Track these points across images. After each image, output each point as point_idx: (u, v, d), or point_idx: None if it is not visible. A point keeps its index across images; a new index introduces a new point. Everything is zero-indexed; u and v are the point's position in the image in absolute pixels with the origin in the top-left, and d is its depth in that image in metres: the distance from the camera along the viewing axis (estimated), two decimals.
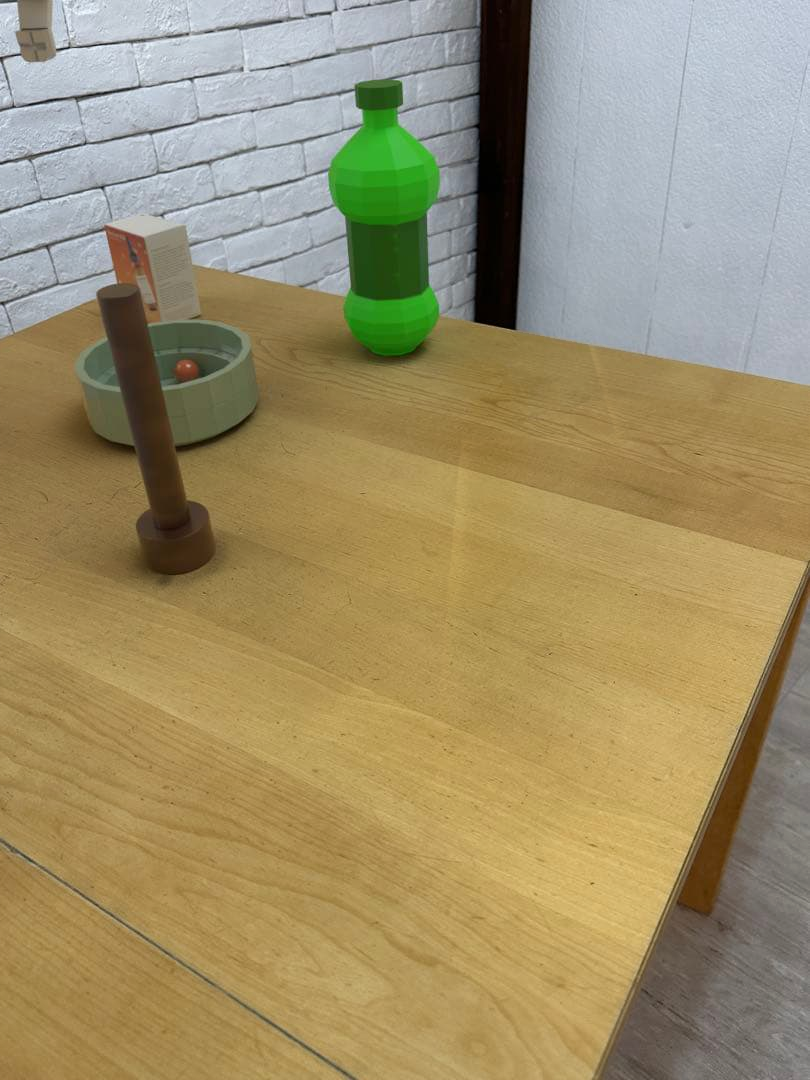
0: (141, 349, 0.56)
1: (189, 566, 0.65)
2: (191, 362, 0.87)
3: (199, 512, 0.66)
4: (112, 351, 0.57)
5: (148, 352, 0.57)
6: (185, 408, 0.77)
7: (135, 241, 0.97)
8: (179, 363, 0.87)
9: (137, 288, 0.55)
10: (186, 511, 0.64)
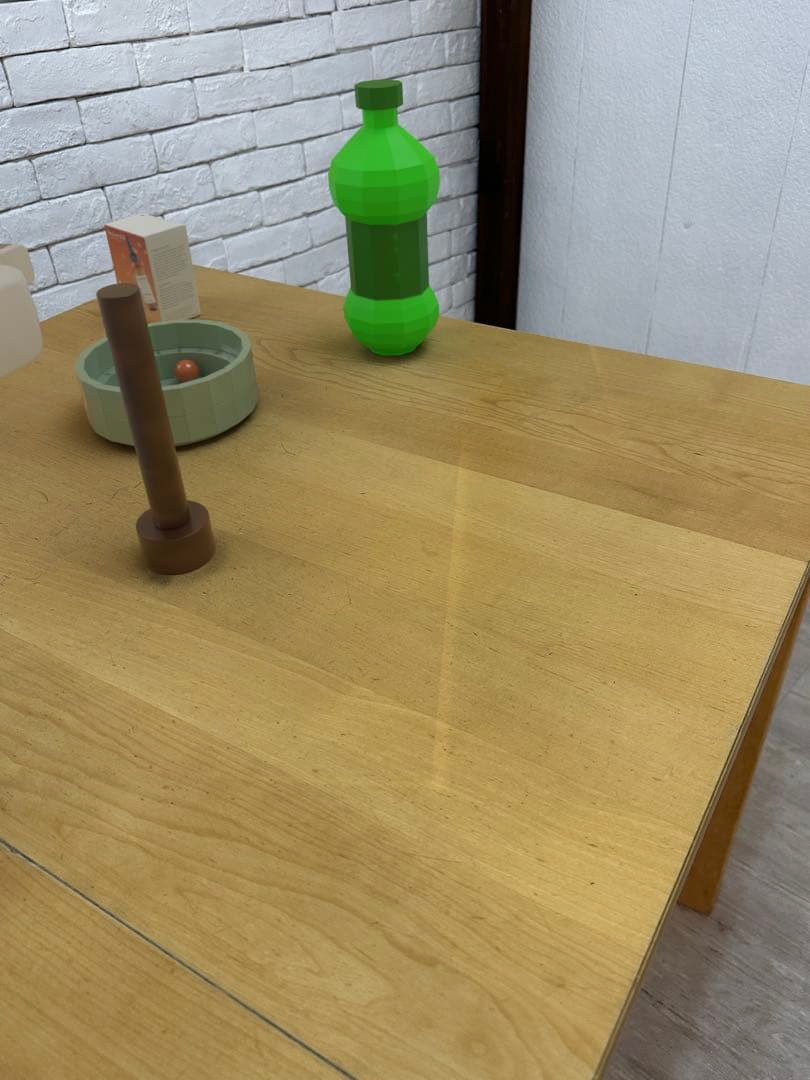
0: (141, 349, 0.56)
1: (189, 566, 0.65)
2: (191, 362, 0.87)
3: (199, 512, 0.66)
4: (112, 351, 0.57)
5: (148, 352, 0.57)
6: (185, 408, 0.77)
7: (135, 241, 0.97)
8: (179, 363, 0.87)
9: (137, 288, 0.55)
10: (186, 511, 0.64)
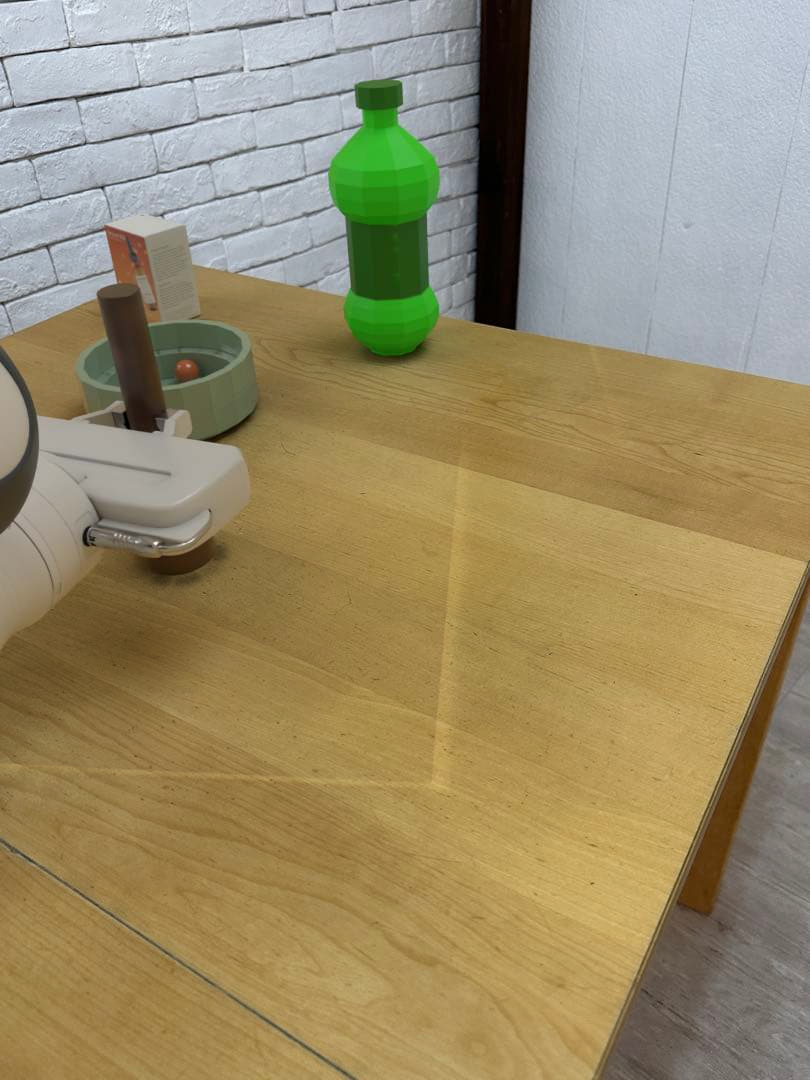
0: (141, 349, 0.56)
1: (189, 566, 0.65)
2: (191, 362, 0.87)
3: None
4: (112, 351, 0.57)
5: (148, 352, 0.57)
6: (185, 408, 0.77)
7: (135, 241, 0.97)
8: (179, 363, 0.87)
9: (137, 288, 0.55)
10: None
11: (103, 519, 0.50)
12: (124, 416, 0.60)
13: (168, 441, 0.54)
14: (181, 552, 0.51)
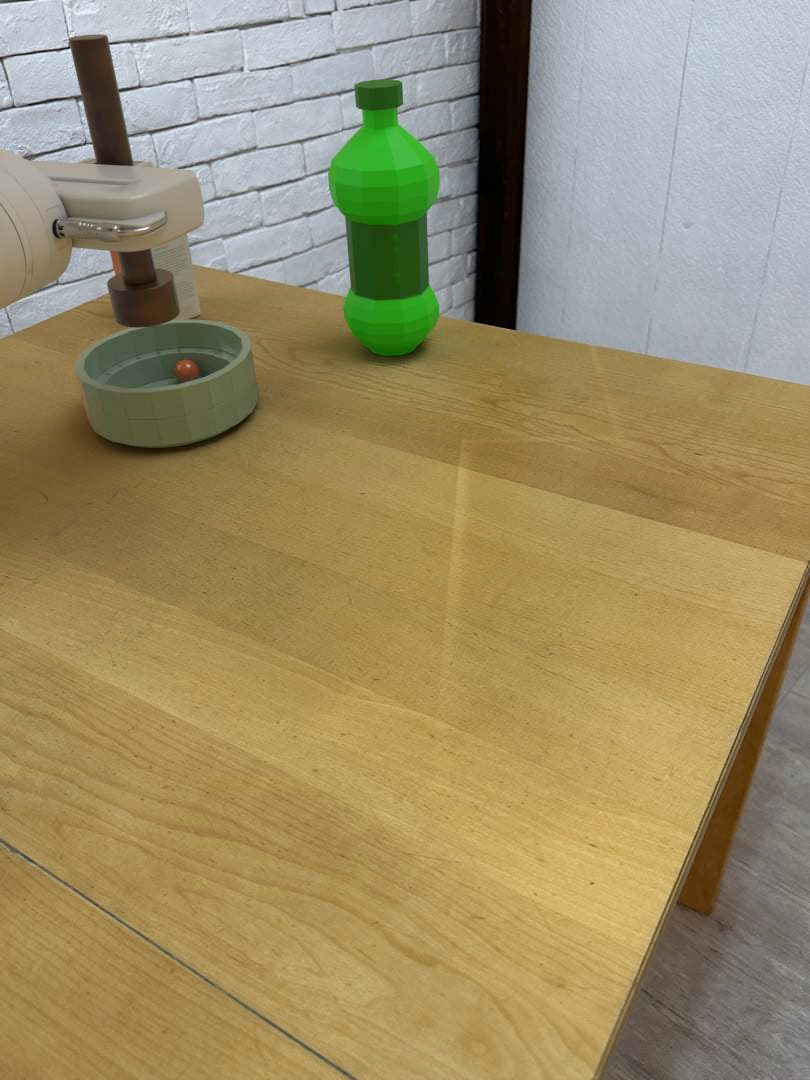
0: (109, 95, 0.63)
1: (155, 320, 0.72)
2: (191, 362, 0.87)
3: (164, 274, 0.73)
4: (83, 97, 0.63)
5: (115, 99, 0.64)
6: (185, 408, 0.77)
7: None
8: (179, 363, 0.87)
9: (105, 35, 0.62)
10: (152, 269, 0.71)
11: (71, 217, 0.57)
12: None
13: (131, 167, 0.61)
14: (139, 248, 0.58)
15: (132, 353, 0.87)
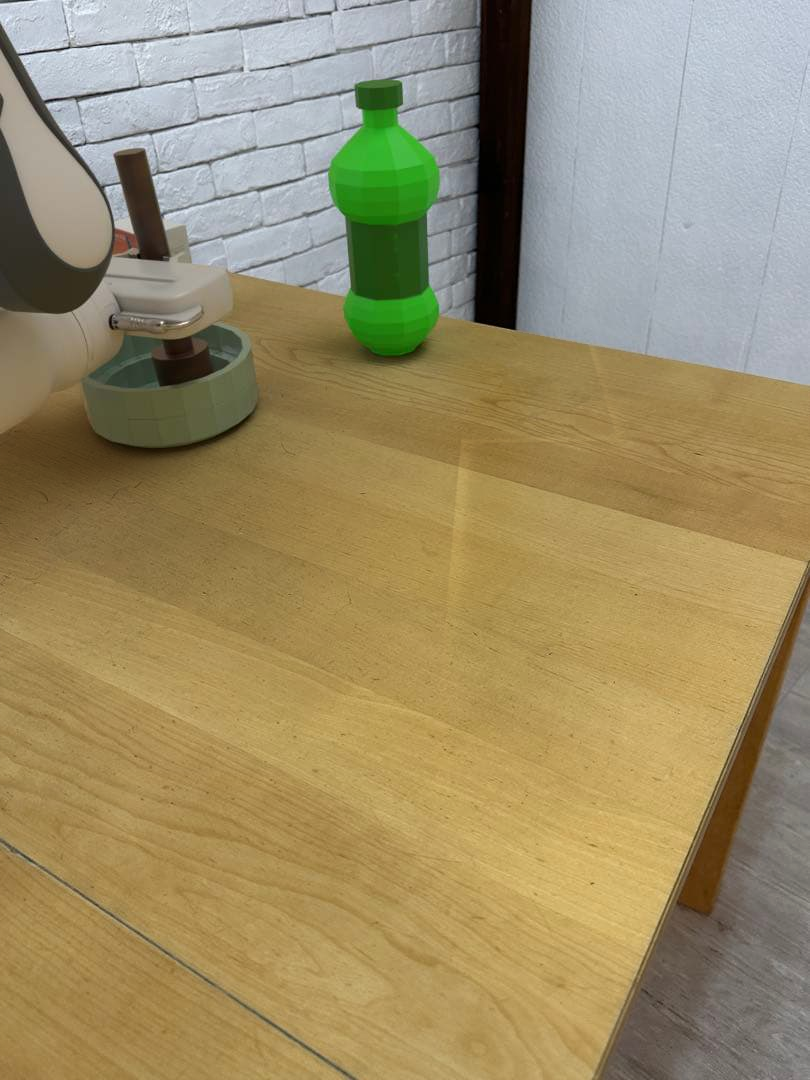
0: (148, 197, 0.75)
1: None
2: None
3: (200, 343, 0.84)
4: (127, 200, 0.75)
5: (154, 201, 0.75)
6: (185, 408, 0.77)
7: (135, 241, 0.97)
8: None
9: (143, 149, 0.74)
10: (189, 339, 0.82)
11: (123, 311, 0.69)
12: (138, 258, 0.78)
13: (171, 264, 0.72)
14: (180, 336, 0.69)
15: (132, 353, 0.87)
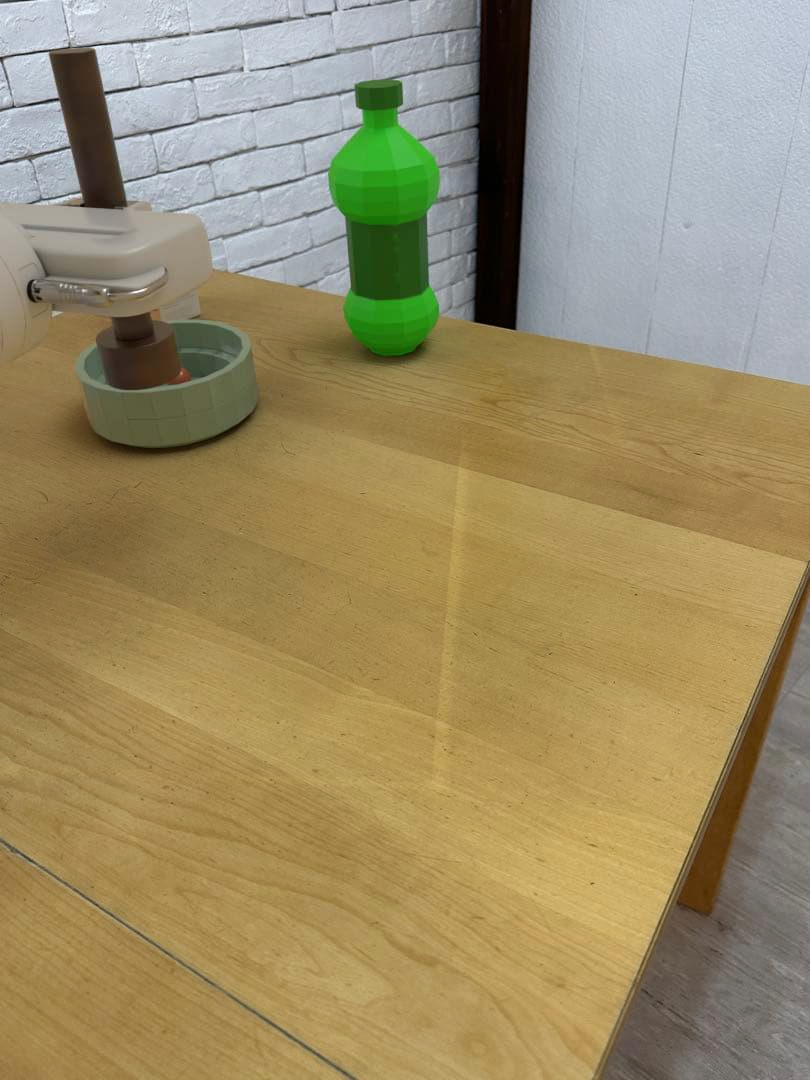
0: (96, 119, 0.53)
1: (151, 381, 0.61)
2: (178, 381, 0.85)
3: (163, 328, 0.62)
4: (66, 121, 0.53)
5: (105, 125, 0.53)
6: (185, 408, 0.77)
7: None
8: (168, 384, 0.86)
9: (92, 49, 0.52)
10: (149, 322, 0.61)
11: (50, 276, 0.47)
12: None
13: (124, 211, 0.51)
14: (134, 312, 0.47)
15: None
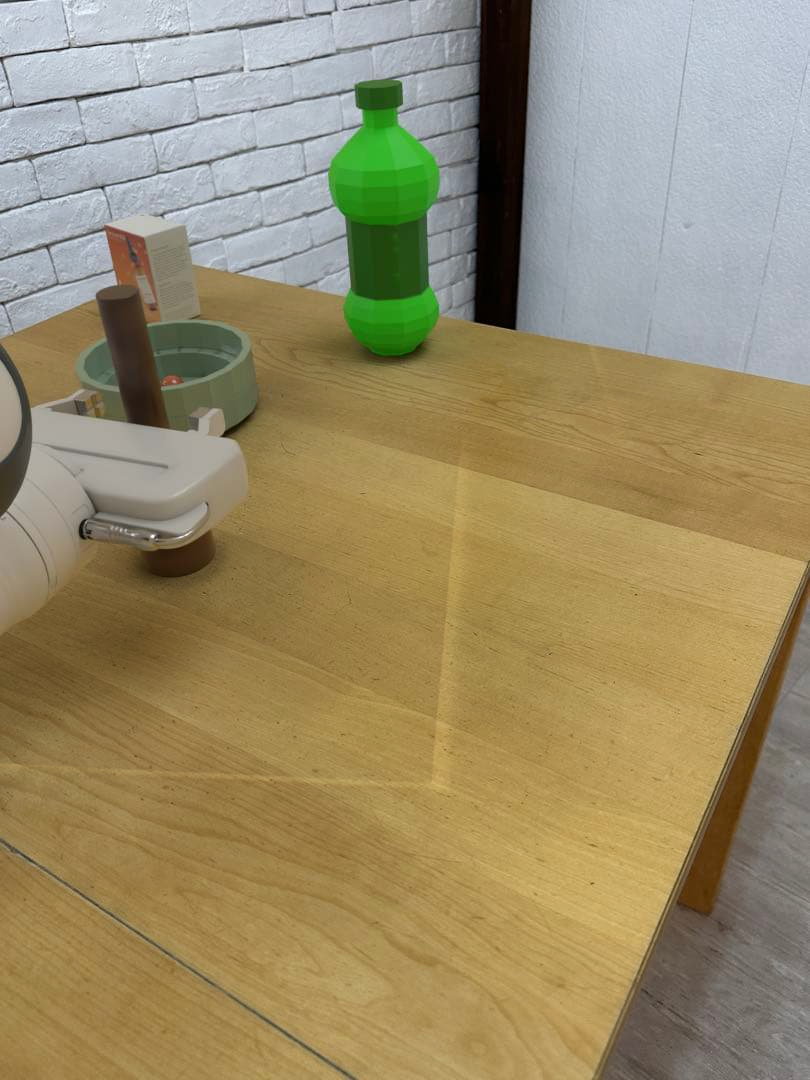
0: (140, 351, 0.56)
1: (188, 568, 0.64)
2: None
3: None
4: (111, 353, 0.56)
5: (147, 354, 0.57)
6: (185, 408, 0.77)
7: (135, 241, 0.97)
8: None
9: (136, 290, 0.55)
10: None
11: (99, 512, 0.50)
12: (87, 405, 0.60)
13: (166, 433, 0.54)
14: (178, 545, 0.50)
15: None
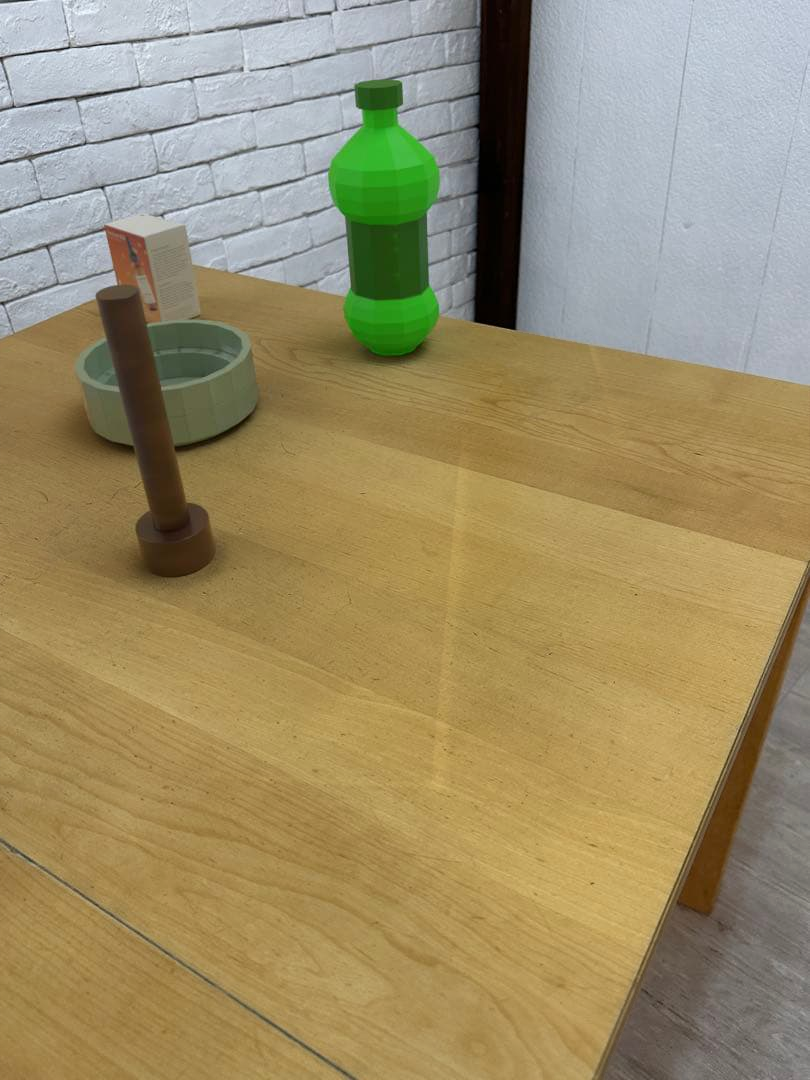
0: (140, 351, 0.56)
1: (188, 568, 0.64)
2: None
3: (199, 514, 0.65)
4: (111, 353, 0.56)
5: (147, 354, 0.57)
6: (185, 408, 0.77)
7: (135, 241, 0.97)
8: None
9: (136, 290, 0.55)
10: (186, 513, 0.64)
11: None
12: None
13: None
14: None
15: None
